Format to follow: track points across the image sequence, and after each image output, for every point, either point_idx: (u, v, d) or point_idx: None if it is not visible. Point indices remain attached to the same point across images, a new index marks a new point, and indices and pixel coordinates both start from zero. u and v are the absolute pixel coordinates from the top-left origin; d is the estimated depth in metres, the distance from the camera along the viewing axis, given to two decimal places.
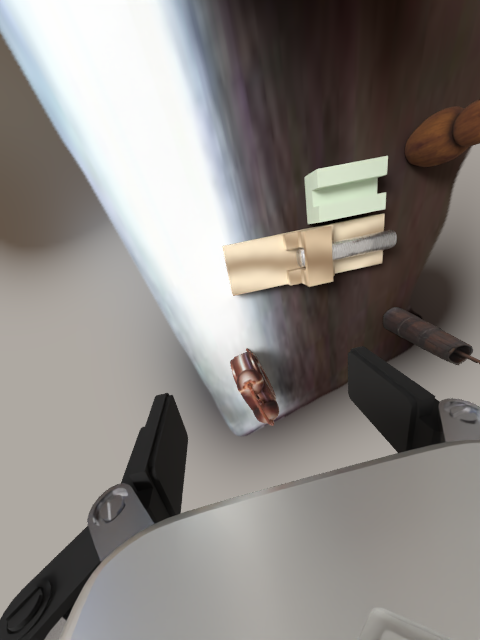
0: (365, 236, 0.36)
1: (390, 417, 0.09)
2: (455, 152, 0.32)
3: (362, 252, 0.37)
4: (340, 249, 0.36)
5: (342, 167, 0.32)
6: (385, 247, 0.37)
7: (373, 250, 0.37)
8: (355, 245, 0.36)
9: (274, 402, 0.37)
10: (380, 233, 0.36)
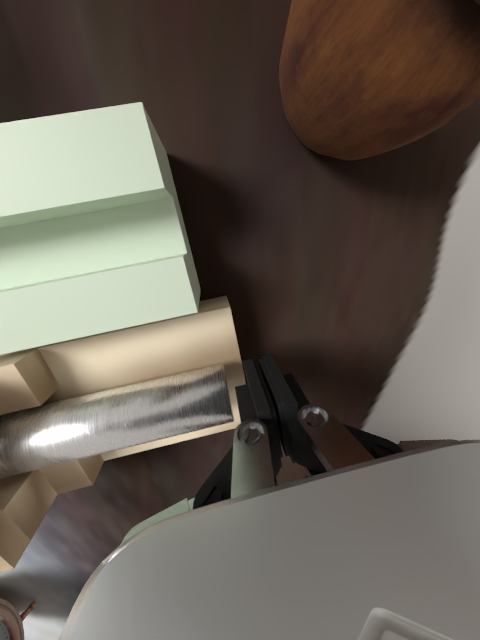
0: (125, 398, 0.11)
1: (277, 420, 0.10)
2: (453, 80, 0.06)
3: (121, 448, 0.11)
4: (17, 457, 0.10)
5: None
6: (203, 428, 0.11)
7: (163, 438, 0.11)
8: (73, 440, 0.10)
9: None
10: (178, 387, 0.11)
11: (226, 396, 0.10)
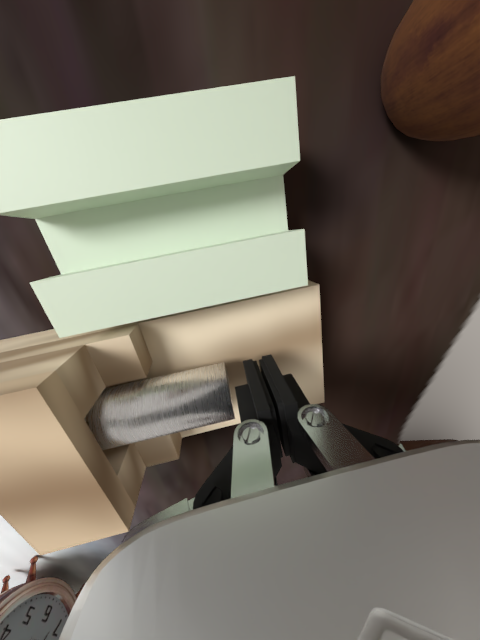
0: (127, 395, 0.11)
1: (277, 420, 0.10)
2: None
3: (123, 444, 0.11)
4: None
5: (83, 123, 0.07)
6: (204, 425, 0.11)
7: (165, 434, 0.11)
8: None
9: None
10: (180, 384, 0.11)
11: (227, 394, 0.11)
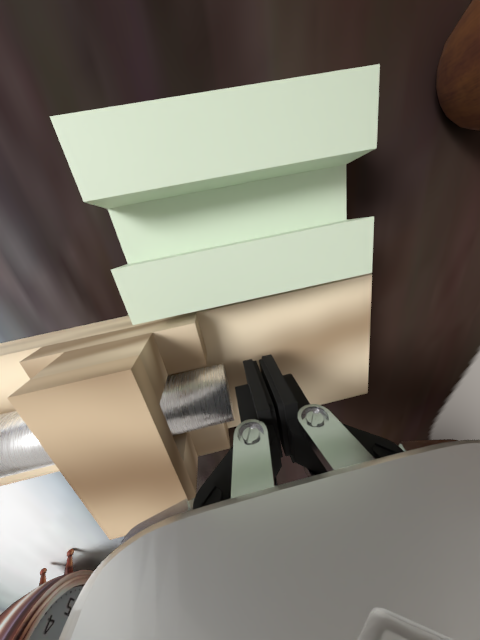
0: None
1: (277, 420, 0.10)
2: None
3: None
4: (19, 455, 0.10)
5: (177, 111, 0.07)
6: (203, 427, 0.11)
7: None
8: None
9: None
10: (179, 386, 0.11)
11: (226, 395, 0.10)
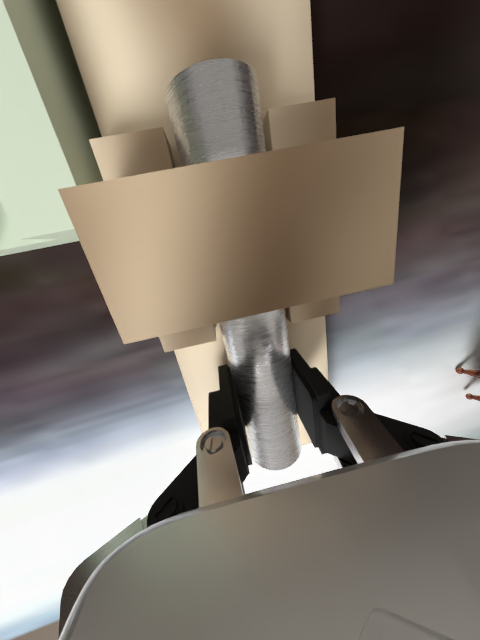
0: None
1: (305, 412, 0.10)
2: None
3: None
4: (259, 368, 0.09)
5: None
6: (256, 133, 0.07)
7: None
8: None
9: None
10: None
11: (185, 70, 0.06)
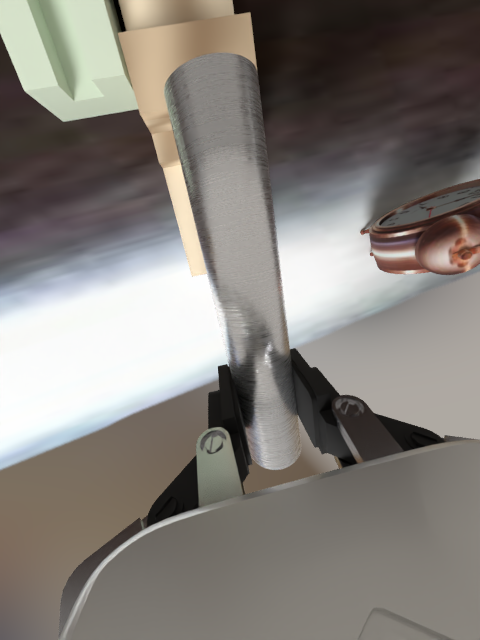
0: (205, 254, 0.08)
1: (305, 412, 0.10)
2: None
3: (273, 264, 0.08)
4: (259, 368, 0.09)
5: None
6: (256, 129, 0.07)
7: (267, 204, 0.08)
8: (245, 313, 0.08)
9: None
10: (187, 173, 0.07)
11: (185, 64, 0.06)
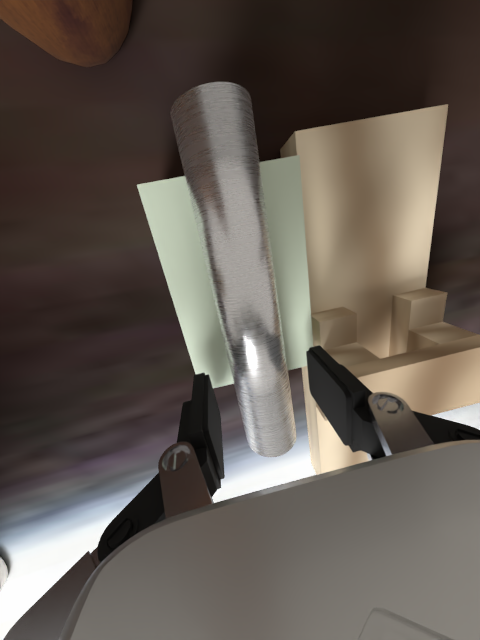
0: (206, 252, 0.09)
1: (335, 410, 0.10)
2: None
3: (267, 260, 0.09)
4: (256, 356, 0.10)
5: (190, 332, 0.12)
6: (250, 144, 0.08)
7: (261, 207, 0.09)
8: (243, 304, 0.09)
9: None
10: (190, 180, 0.08)
11: (190, 90, 0.07)
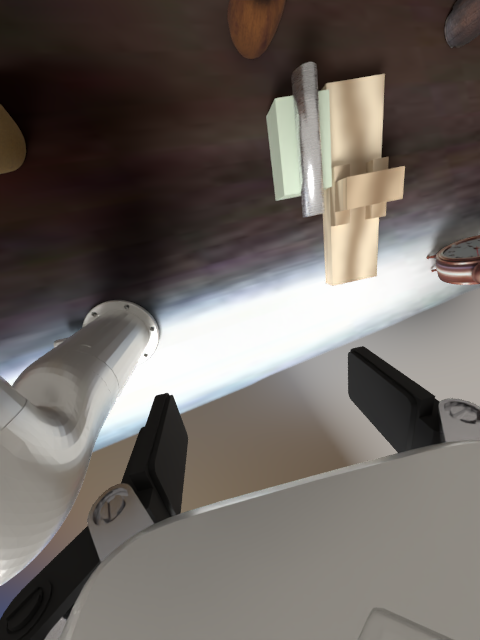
0: (299, 119, 0.28)
1: (390, 417, 0.09)
2: None
3: (319, 123, 0.28)
4: (313, 160, 0.29)
5: (284, 163, 0.31)
6: (317, 81, 0.26)
7: (318, 103, 0.27)
8: (311, 137, 0.28)
9: None
10: (297, 93, 0.27)
11: (303, 64, 0.25)
